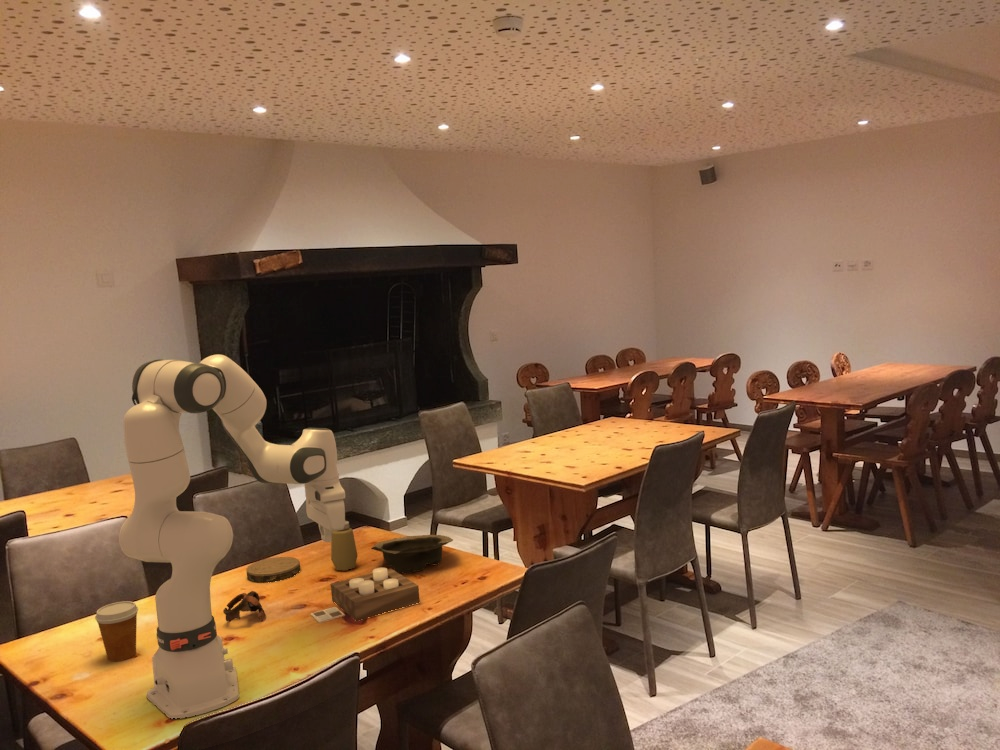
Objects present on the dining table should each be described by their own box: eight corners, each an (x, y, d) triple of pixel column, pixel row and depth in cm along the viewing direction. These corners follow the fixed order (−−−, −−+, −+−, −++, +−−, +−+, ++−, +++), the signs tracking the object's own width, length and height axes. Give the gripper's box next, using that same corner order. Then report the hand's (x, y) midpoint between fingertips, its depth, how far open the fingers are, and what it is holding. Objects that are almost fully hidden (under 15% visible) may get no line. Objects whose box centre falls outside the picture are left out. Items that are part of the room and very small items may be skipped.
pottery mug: (263, 628, 211) (243, 605, 208) (234, 643, 213) (214, 621, 210) (275, 599, 222) (257, 577, 220) (247, 614, 224) (229, 592, 222)
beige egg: (391, 587, 226) (389, 570, 225) (377, 591, 224) (376, 573, 223) (385, 583, 229) (383, 566, 229) (371, 587, 227) (370, 569, 227)
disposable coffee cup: (115, 667, 192) (109, 618, 191) (92, 660, 197) (86, 612, 196) (151, 651, 200) (146, 603, 199) (127, 644, 205) (122, 598, 204)
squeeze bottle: (356, 571, 248) (350, 514, 246) (329, 573, 248) (324, 515, 246) (360, 563, 256) (355, 507, 254) (335, 564, 256) (330, 508, 254)
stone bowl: (405, 583, 234) (400, 552, 234) (359, 572, 253) (355, 542, 253) (471, 559, 250) (467, 529, 250) (424, 550, 269) (420, 522, 269)
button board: (419, 603, 219) (418, 585, 218) (356, 621, 210) (354, 602, 209) (392, 585, 234) (390, 568, 234) (332, 601, 225) (330, 583, 224)
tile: (345, 615, 214) (344, 614, 214) (319, 623, 210) (319, 621, 210) (335, 608, 220) (335, 606, 220) (310, 614, 216) (310, 613, 216)
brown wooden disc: (254, 588, 241) (253, 578, 241) (241, 573, 255) (240, 564, 254) (307, 575, 249) (306, 565, 248) (292, 562, 262) (291, 553, 262)
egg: (367, 598, 222) (366, 580, 222) (353, 602, 220) (352, 584, 220) (362, 594, 226) (360, 576, 225) (348, 598, 224) (346, 580, 223)
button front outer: (402, 599, 220) (400, 581, 219) (388, 603, 218) (386, 584, 217) (395, 595, 223) (394, 577, 223) (382, 598, 221) (380, 580, 221)
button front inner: (377, 601, 216) (375, 583, 216) (363, 605, 214) (361, 586, 214) (371, 597, 220) (370, 579, 219) (357, 600, 218) (356, 582, 217)
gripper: (298, 484, 219) (302, 535, 220) (323, 497, 202) (327, 551, 203) (321, 480, 223) (325, 530, 224) (347, 492, 205) (352, 546, 206)
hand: (326, 540), depth 213 cm, fingers closed
